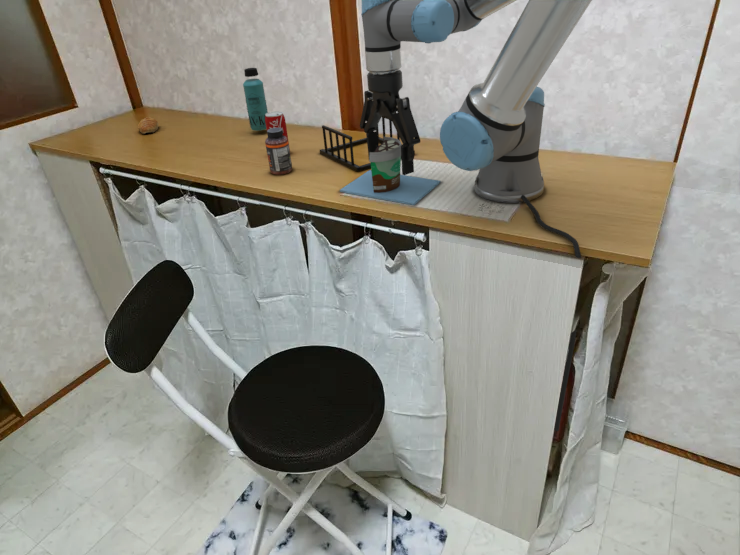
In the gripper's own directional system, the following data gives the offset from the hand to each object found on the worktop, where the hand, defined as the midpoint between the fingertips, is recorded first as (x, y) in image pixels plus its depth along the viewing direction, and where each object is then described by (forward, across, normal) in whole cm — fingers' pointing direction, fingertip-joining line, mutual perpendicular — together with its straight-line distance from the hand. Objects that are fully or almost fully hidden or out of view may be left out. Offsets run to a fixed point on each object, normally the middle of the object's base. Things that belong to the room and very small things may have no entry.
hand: (390, 166), depth 124 cm
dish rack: (+5, +24, -9) cm, 27 cm away
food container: (+5, 0, 0) cm, 5 cm away
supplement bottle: (+5, +30, +15) cm, 34 cm away
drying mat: (+5, 0, 0) cm, 5 cm away
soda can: (+5, +42, +9) cm, 44 cm away
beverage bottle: (+4, +68, +4) cm, 68 cm away
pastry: (+4, +100, +32) cm, 106 cm away
